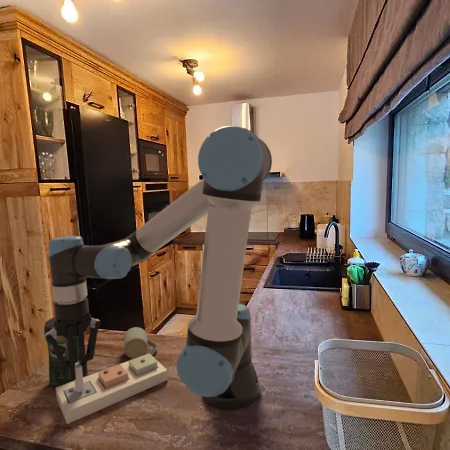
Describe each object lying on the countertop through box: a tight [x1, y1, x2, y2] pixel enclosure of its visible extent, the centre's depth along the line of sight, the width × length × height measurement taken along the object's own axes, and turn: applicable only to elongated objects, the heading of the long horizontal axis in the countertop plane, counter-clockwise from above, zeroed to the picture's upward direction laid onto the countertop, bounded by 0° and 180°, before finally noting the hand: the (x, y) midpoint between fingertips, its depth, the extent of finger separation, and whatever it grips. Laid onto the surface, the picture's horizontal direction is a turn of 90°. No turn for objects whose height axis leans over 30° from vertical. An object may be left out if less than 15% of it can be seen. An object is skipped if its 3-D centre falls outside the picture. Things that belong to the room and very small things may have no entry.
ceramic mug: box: [123, 326, 158, 360], centre depth 105 cm, size 11×8×8 cm
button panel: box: [55, 353, 169, 425], centre depth 86 cm, size 12×26×3 cm, turn 128°
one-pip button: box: [128, 353, 158, 376], centre depth 91 cm, size 6×6×3 cm
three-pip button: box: [64, 381, 96, 404], centre depth 81 cm, size 6×6×3 cm
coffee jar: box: [43, 316, 89, 387], centre depth 91 cm, size 10×8×19 cm
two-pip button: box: [98, 363, 128, 389], centre depth 86 cm, size 6×6×3 cm
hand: (79, 389), depth 81 cm, fingers closed
